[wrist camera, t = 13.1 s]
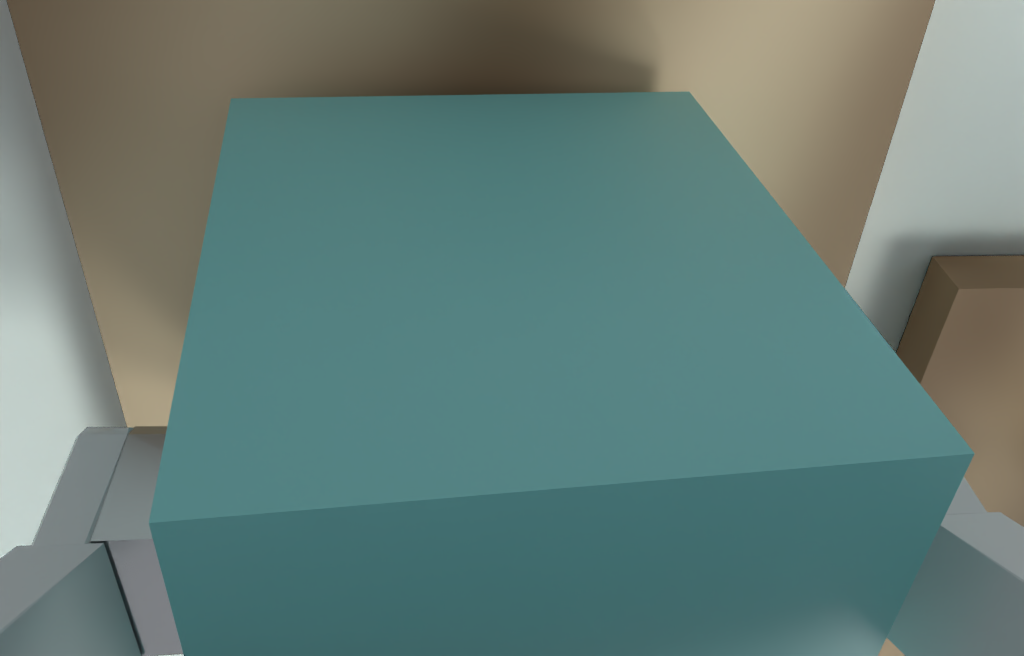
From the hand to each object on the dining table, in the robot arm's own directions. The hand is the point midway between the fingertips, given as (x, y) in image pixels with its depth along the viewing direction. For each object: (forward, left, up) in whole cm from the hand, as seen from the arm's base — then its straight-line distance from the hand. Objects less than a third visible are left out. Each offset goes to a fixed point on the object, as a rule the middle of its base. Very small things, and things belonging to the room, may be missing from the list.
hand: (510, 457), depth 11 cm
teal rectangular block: (0, 0, -4) cm, 4 cm away
